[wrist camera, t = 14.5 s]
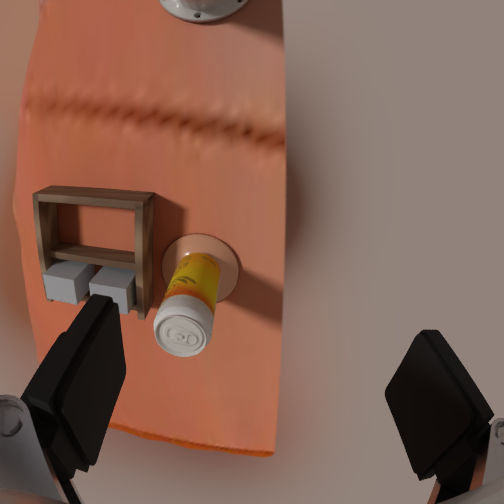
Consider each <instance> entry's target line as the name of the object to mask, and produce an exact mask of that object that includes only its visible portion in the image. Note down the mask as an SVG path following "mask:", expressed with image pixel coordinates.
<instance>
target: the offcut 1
mask: <svg viewBox="0 0 504 504" xmlns="http://www.w3.org/2000/svg"><path fill="white" fill-rule="evenodd" d="M94 276H95V266H94V264H89V263H83V262H76V261H70V260H64V259H59V260H58V261H57V262H56V263H54V264H53V265H52V266H51V267H50V268H49V269H48V270H47V271H46V272H45V273H43V279H44V284H45V289H46V294H47V298H48V299H53V300H57V301H62V302H66V303H71V304H75V305H78V303H79V302H80V301H81V300H82V298H83V297H84V296H85V294H86V293H87V292H88V291H89V289H90V288H89V282H90V281H91V280H92V279H93V277H94Z"/></svg>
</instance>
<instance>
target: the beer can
mask: <svg viewBox="0 0 504 504" xmlns="http://www.w3.org/2000/svg"><path fill="white" fill-rule="evenodd" d="M220 275H221V272H220V268H219V265H218V263H217V262H216V261H215V260H214V259H213V258H212V257H211V256H209V255H207V254H204V253H190V254H188V255H186V256H184V257H183V258H182V259H181V260H180V262H179V264H178V266H177V268H176V271H175V273H174V275H173V277H172V280H171V282H170V284H169V287H168V289H167V291H166V294H165V296H164V298H163V301H162V303H161V305H160V308H159V310H158V313H157V315H156V317H155V320H154V331H155V338H156V340H157V342H158V344H159V345H160V346H161V347H162V348H163V349H164V350H165V351H167V352H168V353H170V354H173V355H176V356H180V357H190V356H194V355H196V354H198V353H200V352H201V351H202V350H203V349H204V347H205V346H207V344H208V343H209V341H210V339H211V335H212V328H213V321H214V315H215V308H216V301H217V295H218V288H219V282H220Z"/></svg>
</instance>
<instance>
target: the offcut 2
mask: <svg viewBox="0 0 504 504" xmlns="http://www.w3.org/2000/svg"><path fill="white" fill-rule="evenodd" d="M89 288H90V296H91V295H92V294H99V295H105V296H110V297H112V298H113V302H115V303H118V305H119V313H122V314H127V315H128V314H129V312H130V310H131V308H132V306H133V304H134V303H135V301H136V299H137V295H136V273H135V270H129V269H122V268H116V267H109V266H103V267H102V268H101V269H100V270H99V272H98V273H97V274H96V275H95V276H94V277H93V279H92V280H91V281H90V282H89Z"/></svg>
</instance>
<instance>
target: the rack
mask: <svg viewBox="0 0 504 504" xmlns="http://www.w3.org/2000/svg"><path fill="white" fill-rule="evenodd" d="M57 203H69V204H81V205H92V206H104V207H115V208H125V209H135V252H130V251H122V250H114V249H107V248H99V247H92V246H85V245H77V244H70V243H63V242H60V238H59V227H58V213H57ZM33 208H34V220H35V230H36V239H37V247H38V254H39V261H40V267H41V273H42V278H43V273H45V272H46V271H47V270H48V269H49V268H50V267H51V266H52V265H53V264H54V263H56V262H57V261H58V260H59V259H64V260H70V261H76V262H83V263H89V264H96V265H102V266H109V267H116V268H122V269H129V270H135V273H136V295H137V299H136V301H135V303H134V304H133V306H132V308H131V310H136V311H138V319H140V320H145V318H146V316H147V314H148V312H149V310H150V308H151V305H152V303H153V215H154V193H153V192H142V191H130V190H117V189H103V188H89V187H72V186H52V185H51V186H49V187H47V188H44V189H42V190H40V191H38V192H35V193H33ZM43 284H44V279H43ZM44 289H45V284H44ZM45 294H46V289H45ZM90 297H91V296H90V289H89V291H88V292H87V293H86V294H85V296H84V297H83V298H82V301H88V299H89V298H90ZM46 299H47V301H50V302H52V301H53V299H48V298H47V294H46Z"/></svg>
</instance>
